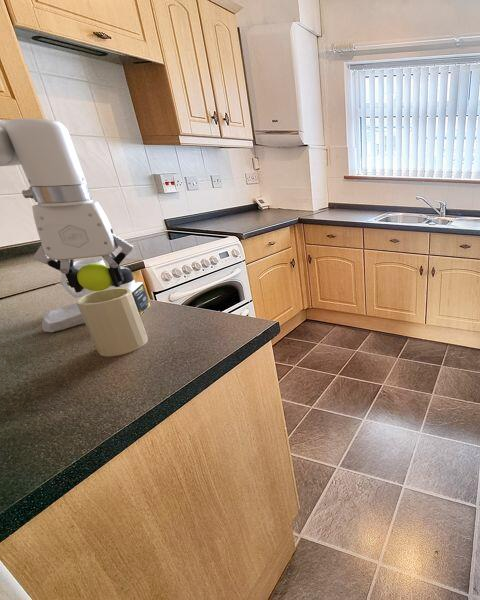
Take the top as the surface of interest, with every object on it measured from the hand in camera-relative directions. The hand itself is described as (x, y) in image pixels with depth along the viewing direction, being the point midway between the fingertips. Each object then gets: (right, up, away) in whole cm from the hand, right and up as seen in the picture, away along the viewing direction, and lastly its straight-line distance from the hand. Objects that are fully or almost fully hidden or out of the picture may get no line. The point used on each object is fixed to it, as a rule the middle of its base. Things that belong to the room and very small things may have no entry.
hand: (99, 286), depth 69 cm
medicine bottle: (-11, -6, +21) cm, 25 cm away
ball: (0, +2, -1) cm, 2 cm away
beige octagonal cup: (0, -13, +6) cm, 14 cm away
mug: (-25, -4, +27) cm, 37 cm away
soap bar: (-21, -9, +15) cm, 27 cm away
